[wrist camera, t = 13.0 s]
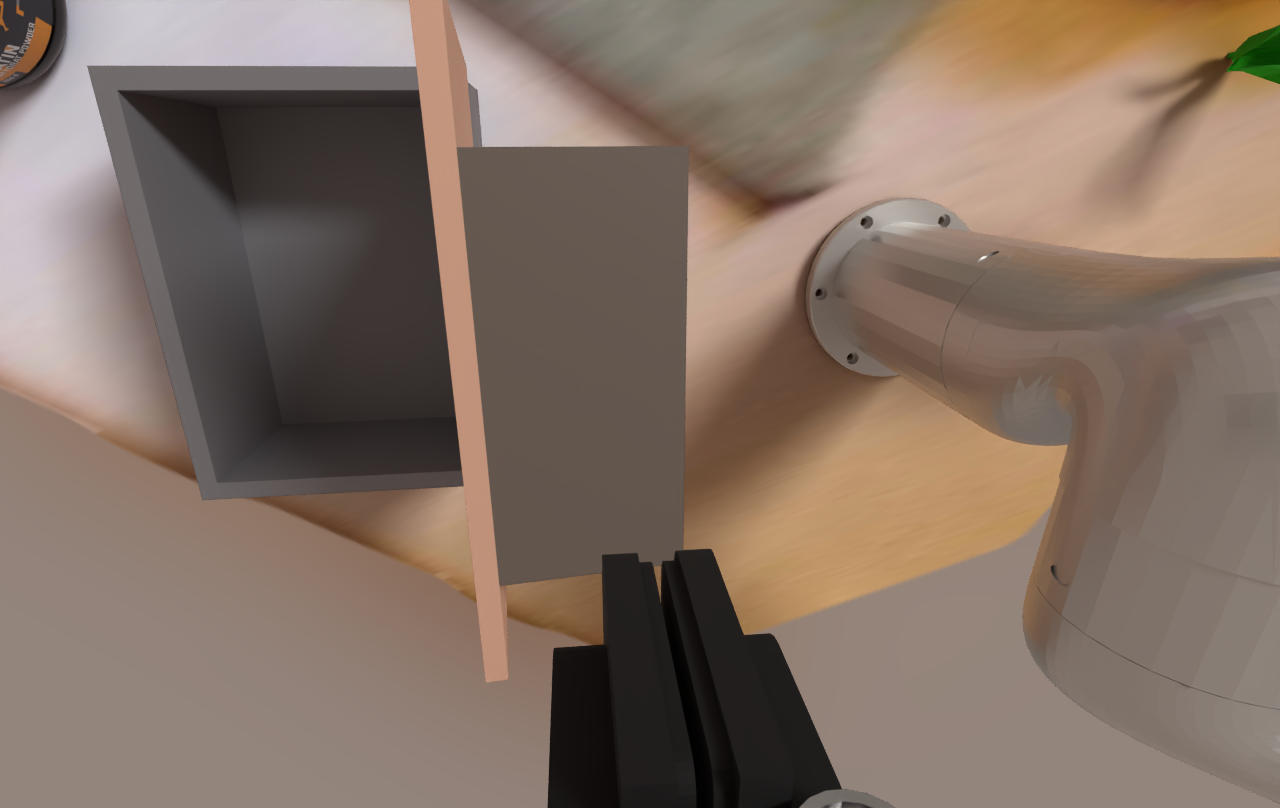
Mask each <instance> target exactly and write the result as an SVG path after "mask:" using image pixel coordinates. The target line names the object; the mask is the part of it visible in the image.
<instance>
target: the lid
mask: <svg viewBox="0 0 1280 808" xmlns="http://www.w3.org/2000/svg"><path fill="white" fill-rule="evenodd" d="M409 4H410V13H411V22H412V31H413V40H414V48H415V57H416V66H417V75H418V84H419V93H420V102H421V111H422V119H423V128H424V137H425V146H426V155H427V164H428V173H429V182H430V190H431V199H432V208H433V217H434V226H435V235H436V244H437V253H438V261H439V270H440V279H441V288H442V297H443V306H444V315H445V324H446V333H447V341H448V350H449V359H450V368H451V377H452V386H453V395H454V404H455V412H456V421H457V430H458V439H459V448H460V457H461V466H462V475H463V483H464V492H465V501H466V510H467V519H468V528H469V537H470V546H471V554H472V563H473V572H474V581H475V590H476V599H477V608H478V617H479V625H480V634H481V642H482V651H483V661H484V670H485V679H486V682H494V681H500V680H507V679H508V642H507V640H508V639H507V599H506V585H512V584H519V583H527V582H535V581H543V580H551V579H559V578H567V577H574V576H582V575H590V574H598V573H602V555H605V554H623V553H638V557H639V562H652V564H653V566H661V565H662V561H671V560H674V554H675V551H678V550H683V522H684V450H685V379H686V307H687V236H688V164H689V146H625V147H473V136H472V125H471V114H470V103H469V92H468V81H467V69H466V64H465V61H464V57H463V54H462V50H461V47H460V44H459V40H458V37H457V33H456V30H455V26H454V23H453V19H452V16H451V13H450V9H449V6H448V2H447V0H409Z"/></svg>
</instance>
